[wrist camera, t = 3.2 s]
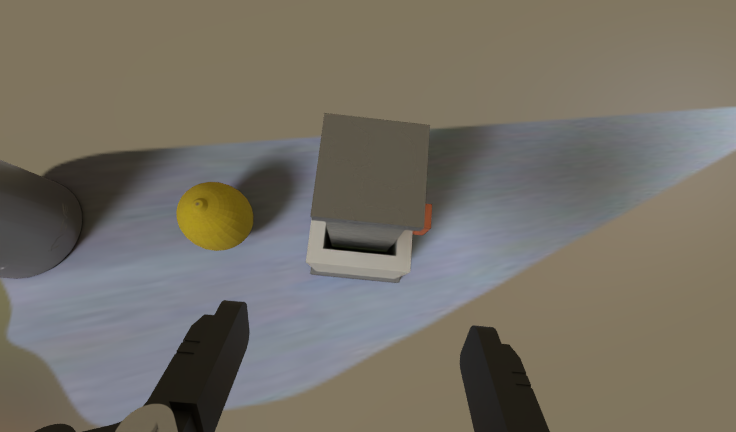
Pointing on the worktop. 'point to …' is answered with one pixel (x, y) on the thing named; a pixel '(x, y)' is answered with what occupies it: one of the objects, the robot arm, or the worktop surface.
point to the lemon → (215, 216)
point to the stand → (361, 256)
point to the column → (370, 181)
